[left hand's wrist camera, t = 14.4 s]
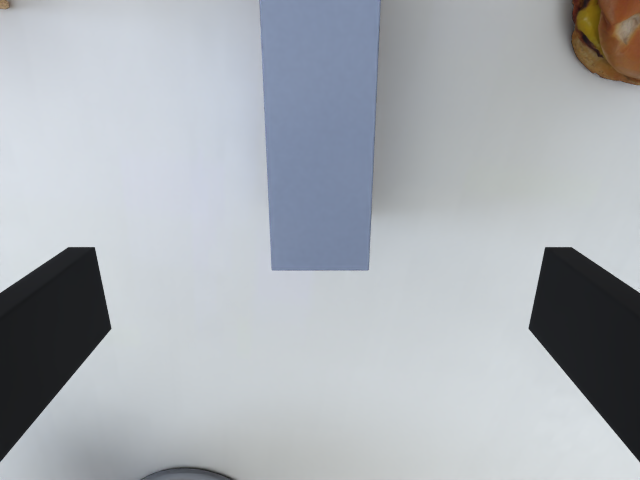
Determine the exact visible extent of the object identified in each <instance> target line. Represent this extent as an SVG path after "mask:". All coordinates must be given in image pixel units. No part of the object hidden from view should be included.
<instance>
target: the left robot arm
mask: <svg viewBox="0 0 640 480" xmlns="http://www.w3.org/2000/svg"><path fill="white" fill-rule="evenodd" d="M110 330H111V324H110V319H109V314H108V310H107V305H106V300H105V295H104V290H103V285H102V280H101V275H100V271H99V266H98V261H97V256H96V251H95V247H68V248H67V249H65V250H64V251H62V252H61V253H59V254H58V255H56V256H55V257H53V258H52V259H50V260H49V261H47V262H46V263H44V264H43V265H41V266H40V267H38V268H37V269H35V270H34V271H32V272H31V273H29V274H28V275H26V276H25V277H23V278H22V279H20V280H19V281H17V282H16V283H15V284H13V285H12V286H10V287H9V288H7V289H6V290H4V291H3V292H1V293H0V462H1V460H2V459H3V458H4V457H5V456H6V454H7V453H8V452H9V451H10V450H11V448H12V447H13V446H14V445H15V444H16V442H17V441H18V440H19V439H20V438H21V436H22V435H23V434H24V433H25V432H26V430H27V429H28V428H29V427H30V426H31V424H32V423H33V422H34V421H35V420H36V418H37V417H38V416H39V415H40V414H41V412H42V411H43V410H44V409H45V408H46V406H47V405H48V404H49V403H50V402H51V400H52V399H53V398H54V397H55V396H56V394H57V393H58V392H59V391H60V390H61V388H62V387H63V386H64V385H65V384H66V382H67V381H68V380H69V379H70V378H71V376H72V375H73V374H74V373H75V372H76V370H77V369H78V368H79V367H80V366H81V364H82V363H83V362H84V361H85V360H86V358H87V357H88V356H89V355H90V354H91V352H92V351H93V350H94V349H95V348H96V346H97V345H98V344H99V343H100V342H101V340H102V339H103V338H104V337H105V336H106V335H107V333H108V332H109V331H110ZM529 330H530V331H531V332H532V333H533V335H534V336H535V337H536V338H537V339H538V341H539V342H540V343H541V344H542V345H543V346H544V348H545V349H546V350H547V351H548V352H549V354H550V355H551V356H552V357H553V358H554V360H555V361H556V362H557V363H558V364H559V366H560V367H561V368H562V369H563V370H564V372H565V373H566V374H567V375H568V376H569V378H570V379H571V380H572V381H573V382H574V384H575V385H576V386H577V387H578V388H579V390H580V391H581V392H582V393H583V394H584V396H585V397H586V398H587V399H588V400H589V402H590V403H591V404H592V405H593V406H594V408H595V409H596V410H597V411H598V412H599V414H600V415H601V416H602V417H603V418H604V420H605V421H606V422H607V423H608V424H609V426H610V427H611V428H612V429H613V430H614V432H615V433H616V434H617V435H618V436H619V438H620V439H621V440H622V441H623V442H624V444H625V445H626V446H627V447H628V448H629V450H630V451H631V452H632V453H633V454H634V456H635V457H636V458H637V459H638V460H639V462H640V293H639V292H637V291H636V290H634V289H633V288H631V287H630V286H628V285H627V284H625V283H624V282H623V281H621V280H620V279H618V278H617V277H615V276H614V275H612V274H611V273H609V272H608V271H606V270H605V269H603V268H602V267H600V266H599V265H597V264H596V263H594V262H593V261H591V260H590V259H588V258H587V257H585V256H584V255H582V254H581V253H579V252H578V251H576V250H575V249H573V248H572V247H545V251H544V256H543V261H542V266H541V271H540V275H539V280H538V285H537V290H536V295H535V300H534V305H533V310H532V314H531V319H530V324H529ZM142 480H231V479H229V478H227V477H224V476H222V475H219V474H216V473H213V472H209V471H205V470H199V469H187V468H183V469H170V470H164V471H161V472H157V473H154V474H151V475H149V476H147V477H145V478H143V479H142Z"/></svg>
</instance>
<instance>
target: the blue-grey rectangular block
mask: <svg viewBox="0 0 640 480" xmlns="http://www.w3.org/2000/svg"><path fill="white" fill-rule="evenodd" d="M380 6H381V0H260V21H261V43H262V65H263V87H264V109H265V131H266V153H267V176H268V198H269V220H270V242H271V264H272V270H369V253H370V231H371V208H372V186H373V163H374V141H375V118H376V96H377V73H378V51H379V28H380Z"/></svg>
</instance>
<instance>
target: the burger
mask: <svg viewBox="0 0 640 480" xmlns="http://www.w3.org/2000/svg"><path fill="white" fill-rule="evenodd" d="M572 4H573V5H574V8H573V12H572V16H573V21H574V23H575V30H574V31H573V34H572V41H571V42H572V45H573V49H574V52H575V54H576V56H577V58H578V59H579V60H580V62H581V63H583V65H584V66H585V67H586V68H587V69H589V70H590V71H591V72H592V73H597V74H598V75H599V76H600V77H602V78H606V79H610V80H616V81H623V82H626V83H630V84H634V85H640V0H572Z"/></svg>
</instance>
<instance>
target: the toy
mask: <svg viewBox="0 0 640 480" xmlns="http://www.w3.org/2000/svg"><path fill="white" fill-rule="evenodd" d="M7 8H9V2H8V1H6V0H0V9H7Z"/></svg>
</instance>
